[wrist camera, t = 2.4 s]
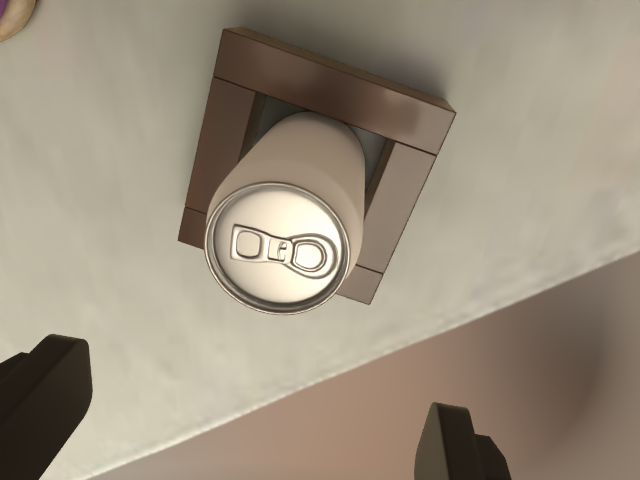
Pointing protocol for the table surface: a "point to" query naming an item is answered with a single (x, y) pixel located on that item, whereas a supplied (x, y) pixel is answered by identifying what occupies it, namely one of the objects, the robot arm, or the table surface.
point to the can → (289, 216)
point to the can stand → (329, 100)
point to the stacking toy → (14, 16)
